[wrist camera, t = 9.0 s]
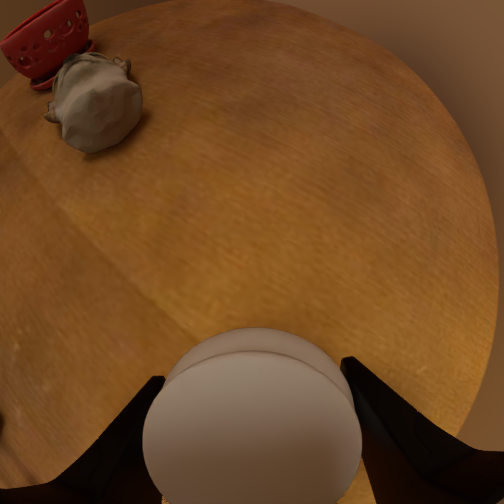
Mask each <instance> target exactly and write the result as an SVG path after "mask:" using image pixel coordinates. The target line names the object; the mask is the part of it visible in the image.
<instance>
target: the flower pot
mask: <svg viewBox="0 0 504 504" xmlns="http://www.w3.org/2000/svg"><path fill="white" fill-rule="evenodd" d="M76 12H78V13H79V18H77V16H76ZM68 20H69V21H70V22H71V26H69V25H68V23H67V22H68ZM60 26H61V27H60ZM47 30H49V31H50V32H51V35H50V37H49V38H45V37H44V33H45V32H46V31H47ZM88 34H89V24H88V18H87V13H86V9H85V6H84V3H83V0H56V1H54V2H53V3H51V4H49V5H47V6H46V7H44V8H43V9H41V10H40V11H38V12H37V13H35V14H34V15H32V16H31V17H29V18H28V19H27V20H25V21H24V22H23V23H21V24H20V25H19V26H18V27H16V28H15V29H14V30H13V31H12V32H11V33H9V34H8V35H7V36H6V37H5V38H4V39H3V40H2V41H1V42H0V48H1V50H2V52H3V54H4V55H5V57H6V58H7V60H8V61H9V63H10V64H11V65H12V66H13V67H14V68H15V69H16V70H17V71H18V72H19V73H21V74H22V75H24V76H26V77H28V78H31V81H30V87H31V88H32V89H34V90H44V89H47V88H50V87H52V86H53V82H54V79H55V77H56V74H57V73H58V71H59V70H60V69H61V68H62V67H63V62H64V60H65V59H66V58H67V57H68V56H69V55H71V54H75V53H78V54H80V55H82V54H84V53H89V52H93V51H94V48H95V42H94V41H93V40H90V39H88ZM27 49H28V50H27ZM21 57H23V60H21V59H20V58H21Z"/></svg>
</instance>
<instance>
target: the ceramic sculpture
mask: <svg viewBox="0 0 504 504" xmlns="http://www.w3.org/2000/svg"><path fill="white" fill-rule="evenodd" d="M130 70H131V62H130V60H129V59H126V60H124V61H122V60H120V59H119V58H117V57H115V58H114V59H113V61H111V60H109V59H108V58H107V57H105V56H104V55H103V54H100V53H94V52H89V53H84V54H82V55H80V54H78V53H75V54H71V55H69V56H68V57H67V58H66V59H65V60H64V62H63V67H62V68H61V69H60V70H59V71H58V73H57V74H56V77H55V79H54V82H53V86H52V91H53V100H54V101H51V102H48V112H47V113H46V114H45V119H46V120H47V121H49V122H51V123H61V124H62V125H63V127H62V133H63V134H62V137H63V139H64V141H65V142H66V143H67V144H69V145H70V146H72V147H73V148H75V149H77V150H80V151H82V152H88V153H95V152H98V151H101V150H103V149H105V148H108V147H111V146H114V145H116V144H118V143H119V142H121V141H122V140H123V139H124V138H125V137H126V135H127V134H128V133H129V132H130V131H131V130H132V129H133V128H134V127H135V125H136V124H137V123H138V121H139V119H140V116H141V113H142V104H143V100H142V92H141V88H140V87H139V85H137V84H135V83H134V82H132V81H128V79H127V78H128V75H129V73H130Z"/></svg>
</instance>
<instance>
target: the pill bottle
mask: <svg viewBox="0 0 504 504" xmlns="http://www.w3.org/2000/svg"><path fill="white" fill-rule="evenodd" d="M142 442H143V454H144V460H145V463H146V467H147V469H148V472H149V474H150V476H151V478H152V480H153V482H154V484H155V485H156V487H157V488H158V490H159V491H160V493H161V494H162V495H163V496H164V498H165V499H166V500H167V501H168V502H169V503H170V504H335V503H336V502H337V501H338V500H339V499H340V498H341V497H342V496H343V495H344V493H345V492H346V491H347V489H348V488H349V486H350V484H351V482H352V481H353V479H354V477H355V475H356V473H357V470H358V467H359V464H360V459H361V452H362V433H361V428H360V424H359V421H358V417H357V415H356V413H355V408H354V401H353V396H352V393H351V390H350V387H349V385H348V383H347V381H346V379H345V377H344V376H343V374H342V372H341V371H340V369H339V368H338V366H337V365H336V364H335V362H334V361H333V360H332V359H331V358H330V357H329V356H328V355H327V354H326V353H325V352H324V351H322V350H321V349H320V348H319V347H317V346H316V345H314V344H313V343H311V342H310V341H308V340H306V339H304V338H301V337H299V336H297V335H295V334H292V333H288V332H285V331H282V330H277V329H271V328H262V327H251V328H240V329H233V330H229V331H226V332H223V333H219V334H217V335H214V336H212V337H210V338H208V339H206V340H204V341H202V342H201V343H199V344H197V345H196V346H195V347H193V348H192V349H190V350H189V351H188V352H187V353H186V354H185V355H184V356H183V357H182V358H181V359H180V360H179V361H178V362H177V363H176V364H175V366H174V367H173V369H172V370H171V371H170V373H169V375H168V377H167V379H166V381H165V383H164V385H163V388H162V389H161V391H160V392H159V393H158V395H157V396H156V398H155V399H154V401H153V403H152V405H151V407H150V409H149V411H148V413H147V416H146V419H145V423H144V428H143V440H142Z"/></svg>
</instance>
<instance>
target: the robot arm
mask: <svg viewBox="0 0 504 504" xmlns="http://www.w3.org/2000/svg"><path fill="white" fill-rule="evenodd" d="M340 371H341V372H342V374H343V376H344V377H345V379H346V381H347V383H348V385H349V387H350V390H351V393H352V396H353V401H354V408H355V413H356V415H357V417H358V421H359V424H360V428H361V433H362V452H361V456H362V459H363V462H364V465H365V468H366V471H367V475H368V478H369V481H370V484H371V487H372V490H373V494H374V497H375V500H376V504H504V452H501V451H499V452H498V451H482V450H478V449H474V448H472V447H470V446H468V445H466V444H465V443H463V442H461V441H459V440H458V439H457V438H455V437H453V436H452V435H450V434H448V433H447V432H445V431H444V430H442V429H441V428H439V427H438V426H436V425H435V424H434V423H432V422H431V421H430V420H429V419H427V418H426V417H425V416H424V415H422V414H421V413H420V412H417V410H416V409H415V408H414V407H413V406H411V405H410V404H409V403H408V402H407V401H406V400H404V399H403V398H402V397H401V396H400V395H398V394H397V393H396V392H395V391H394V390H392V389H391V388H390V387H389V386H388V385H387V384H385V383H384V382H383V381H382V380H381V379H379V378H378V377H377V376H376V375H375V374H374V373H372V372H371V371H370V370H369V369H368V368H367V367H365V366H364V365H363V364H362V363H361V362H360V361H358V360H357V359H356V358H355V357H353V356H350V357H345V358H342V360H341V366H340ZM165 381H166V379H165V377H164V376H152V377H151V378H150V379H149V381H148V382H147V383H146V384H145V385H144V386H143V387H142V389H141V390H140V391H139V392H138V393H137V394H136V395H135V397H134V398H133V399H132V400H131V401H130V402H129V403H128V405H127V406H126V407H125V408H124V409H123V410H122V411H121V412H120V414H119V415H118V416H117V417H116V418H115V419H114V420H113V422H112V423H111V424H110V425H109V426H108V427H107V428H106V429H105V431H104V432H103V433H102V434H101V435H100V436H99V439H97V440H96V441H95V442H94V443H93V444H92V445H91V446H90V447H89V448H88V449H87V450H86V451H85V453H84V454H82V455H81V456H80V457H79V458H78V459H77V460H76V461H75V462H74V463H73V464H72V465H70V466H69V467H68V468H67V469H66V470H65V471H64V472H62V473H61V474H60V475H59V476H58V477H56V478H55V479H54V480H52V481H50V482H48V483H45V484H39V485H33V486H27V487H20V488H11V489H1V488H0V504H161V503H162V494H161V493H160V491H159V490H158V488H157V487H156V485H155V484H154V482H153V480H152V478H151V476H150V474H149V472H148V469H147V467H146V463H145V460H144V454H143V442H142V440H143V428H144V423H145V419H146V416H147V413H148V411H149V409H150V407H151V405H152V403H153V401H154V399H155V398H156V396H157V395H158V393H159V392H160V391H161V389H162V388H163V385H164V383H165Z"/></svg>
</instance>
